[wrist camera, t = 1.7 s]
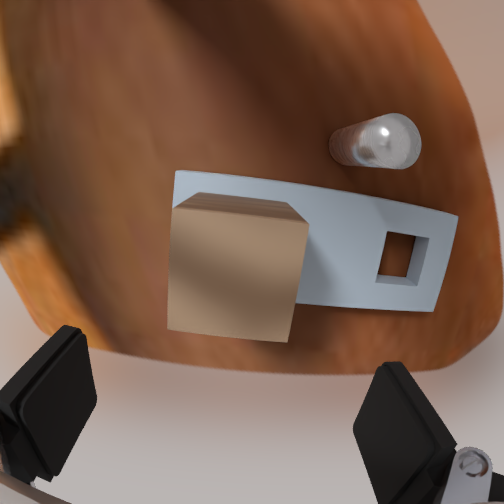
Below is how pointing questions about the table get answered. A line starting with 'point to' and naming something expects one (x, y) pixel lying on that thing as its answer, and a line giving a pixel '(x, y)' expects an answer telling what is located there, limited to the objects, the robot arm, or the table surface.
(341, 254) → the board
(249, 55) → the table surface
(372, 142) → the peg
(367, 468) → the robot arm
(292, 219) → the wooden box
